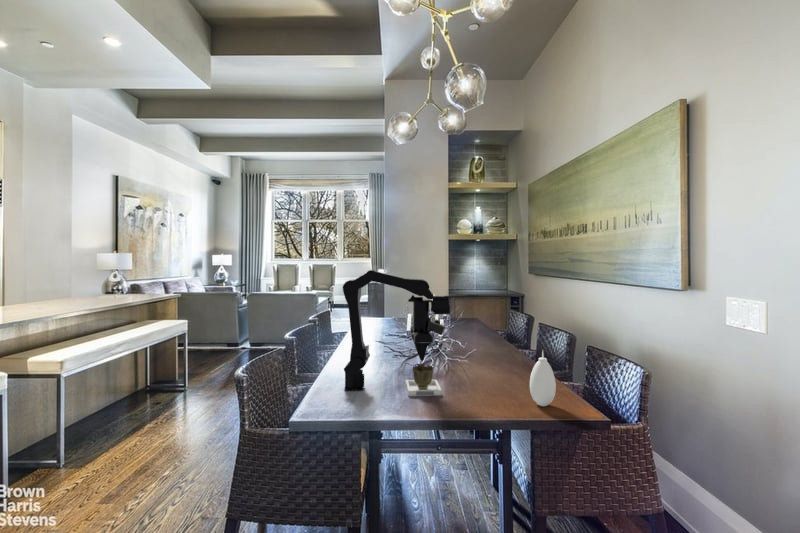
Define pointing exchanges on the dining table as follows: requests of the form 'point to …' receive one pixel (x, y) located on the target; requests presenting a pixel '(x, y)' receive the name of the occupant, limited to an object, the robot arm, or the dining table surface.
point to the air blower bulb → (542, 382)
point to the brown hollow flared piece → (422, 376)
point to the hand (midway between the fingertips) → (420, 357)
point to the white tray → (430, 391)
